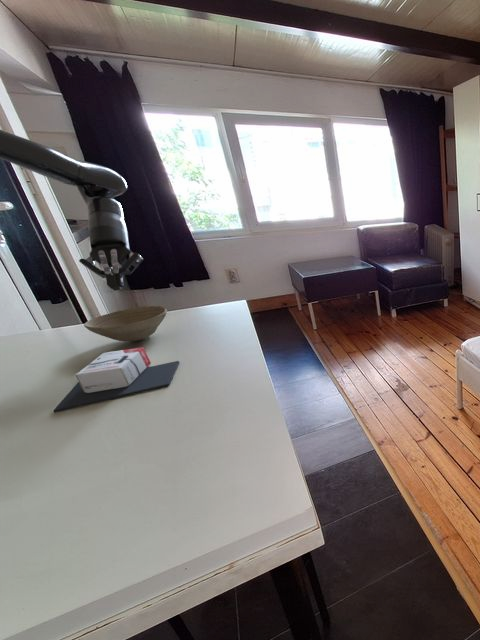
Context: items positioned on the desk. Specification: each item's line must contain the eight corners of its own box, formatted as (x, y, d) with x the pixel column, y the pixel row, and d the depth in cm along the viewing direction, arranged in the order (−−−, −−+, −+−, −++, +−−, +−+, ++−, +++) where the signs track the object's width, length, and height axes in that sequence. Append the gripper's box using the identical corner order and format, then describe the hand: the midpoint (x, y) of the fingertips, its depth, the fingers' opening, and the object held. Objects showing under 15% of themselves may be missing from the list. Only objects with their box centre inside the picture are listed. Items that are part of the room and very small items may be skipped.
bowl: (178, 323, 120) (168, 300, 117) (173, 342, 106) (161, 317, 103) (105, 337, 112) (92, 313, 108) (90, 360, 98) (74, 333, 94)
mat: (54, 412, 76) (52, 410, 76) (79, 384, 87) (78, 381, 86) (169, 385, 84) (168, 383, 84) (179, 362, 94) (178, 360, 94)
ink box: (143, 346, 91) (120, 368, 81) (151, 363, 93) (130, 386, 83) (101, 352, 89) (72, 375, 79) (111, 369, 91) (84, 394, 81)
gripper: (67, 227, 93) (73, 285, 88) (131, 221, 98) (140, 276, 93) (86, 245, 99) (92, 300, 95) (145, 239, 104) (154, 291, 100)
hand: (116, 288), depth 94 cm, fingers closed
